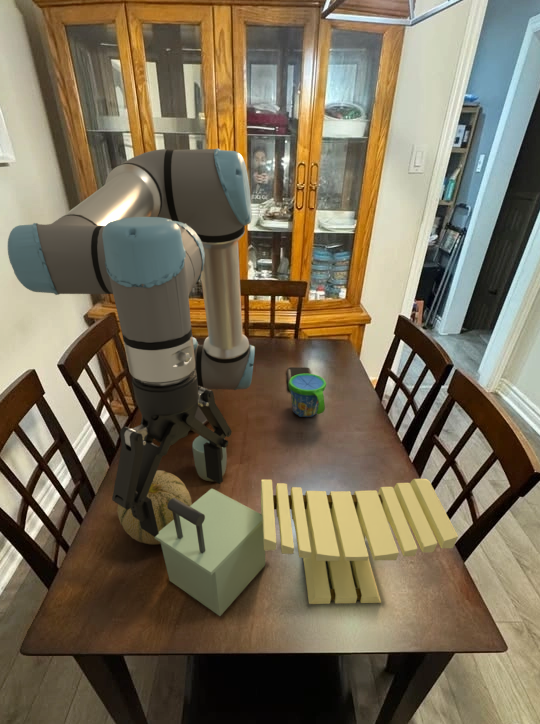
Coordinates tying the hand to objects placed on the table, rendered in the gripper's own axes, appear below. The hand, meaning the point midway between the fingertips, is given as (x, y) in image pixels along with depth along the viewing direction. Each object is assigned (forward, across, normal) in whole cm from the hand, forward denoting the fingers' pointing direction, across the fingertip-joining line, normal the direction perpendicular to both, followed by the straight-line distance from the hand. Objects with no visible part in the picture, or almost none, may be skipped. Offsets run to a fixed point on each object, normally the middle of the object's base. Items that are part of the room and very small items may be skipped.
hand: (184, 503), depth 62 cm
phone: (+22, +82, +29) cm, 90 cm away
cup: (+23, +27, +20) cm, 41 cm away
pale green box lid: (+10, +5, 0) cm, 11 cm away
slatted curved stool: (+23, +20, -18) cm, 36 cm away
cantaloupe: (+23, +6, +17) cm, 29 cm away
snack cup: (+23, +66, +17) cm, 72 cm away
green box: (+23, +6, 0) cm, 24 cm away
